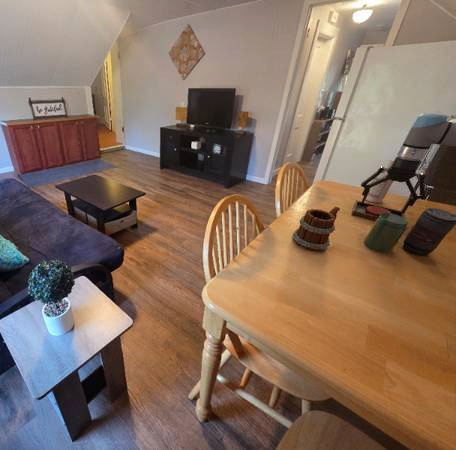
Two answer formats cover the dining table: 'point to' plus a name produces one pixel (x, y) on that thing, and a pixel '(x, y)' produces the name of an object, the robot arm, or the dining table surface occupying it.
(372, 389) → the dining table surface
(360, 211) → the tray
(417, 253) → the camera lens
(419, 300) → the dining table surface
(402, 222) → the jar
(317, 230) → the mug
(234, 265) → the dining table surface
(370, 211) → the lid
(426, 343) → the dining table surface
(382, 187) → the bath foam
